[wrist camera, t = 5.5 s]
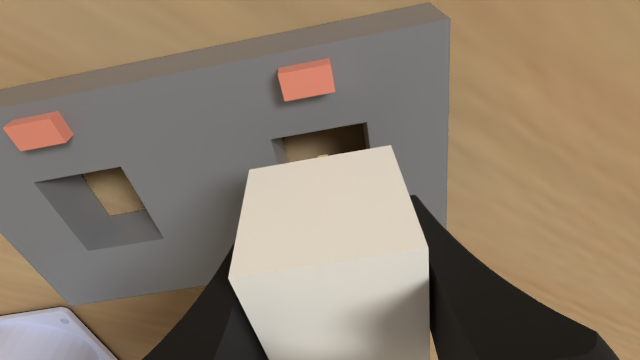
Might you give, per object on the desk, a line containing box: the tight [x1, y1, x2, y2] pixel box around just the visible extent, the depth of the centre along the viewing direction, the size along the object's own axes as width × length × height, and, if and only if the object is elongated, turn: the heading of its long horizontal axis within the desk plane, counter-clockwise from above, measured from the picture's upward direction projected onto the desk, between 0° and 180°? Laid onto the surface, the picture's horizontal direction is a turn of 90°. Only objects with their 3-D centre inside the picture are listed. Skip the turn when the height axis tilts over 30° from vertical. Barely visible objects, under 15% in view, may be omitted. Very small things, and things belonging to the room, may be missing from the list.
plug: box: [228, 145, 430, 360], centre depth 13 cm, size 7×5×6 cm
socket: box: [0, 3, 450, 306], centre depth 17 cm, size 11×20×3 cm, turn 101°
